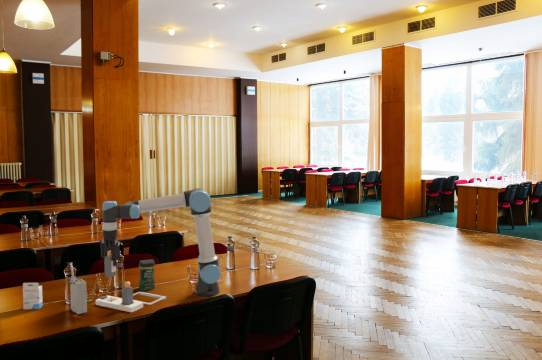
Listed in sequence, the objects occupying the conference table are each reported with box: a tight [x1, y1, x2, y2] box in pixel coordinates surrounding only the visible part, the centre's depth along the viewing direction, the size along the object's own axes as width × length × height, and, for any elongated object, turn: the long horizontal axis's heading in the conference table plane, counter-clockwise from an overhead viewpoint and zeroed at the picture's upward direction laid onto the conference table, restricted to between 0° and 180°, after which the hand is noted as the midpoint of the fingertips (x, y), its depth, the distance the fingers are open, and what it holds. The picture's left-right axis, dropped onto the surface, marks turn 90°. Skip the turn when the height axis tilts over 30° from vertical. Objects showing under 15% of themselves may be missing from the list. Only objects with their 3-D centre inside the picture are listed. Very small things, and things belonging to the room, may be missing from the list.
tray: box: [133, 291, 167, 306], centre depth 268 cm, size 20×14×2 cm
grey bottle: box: [104, 250, 117, 278], centre depth 257 cm, size 4×4×14 cm
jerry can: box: [69, 262, 88, 316], centre depth 249 cm, size 15×5×25 cm, turn 38°
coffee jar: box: [138, 258, 156, 292], centre depth 287 cm, size 10×8×19 cm
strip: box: [94, 295, 144, 313], centre depth 256 cm, size 26×9×4 cm, turn 64°
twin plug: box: [121, 281, 134, 306], centre depth 253 cm, size 4×4×14 cm
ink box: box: [22, 282, 43, 310], centre depth 253 cm, size 8×5×15 cm, turn 96°
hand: (110, 271), depth 257 cm, fingers closed on grey bottle, 4 cm apart
